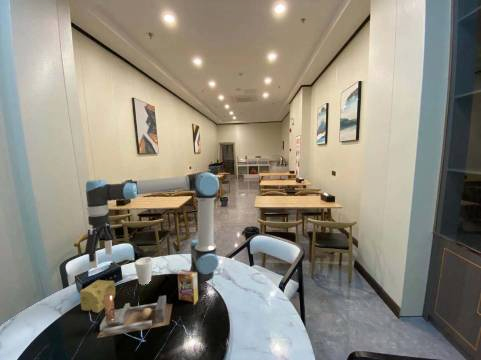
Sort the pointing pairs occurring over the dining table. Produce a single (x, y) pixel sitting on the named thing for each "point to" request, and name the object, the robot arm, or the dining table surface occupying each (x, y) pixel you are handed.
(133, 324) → the board
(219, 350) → the dining table surface
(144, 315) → the nut
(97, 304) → the cheese
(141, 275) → the foam cup
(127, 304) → the ram
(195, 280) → the candy box
